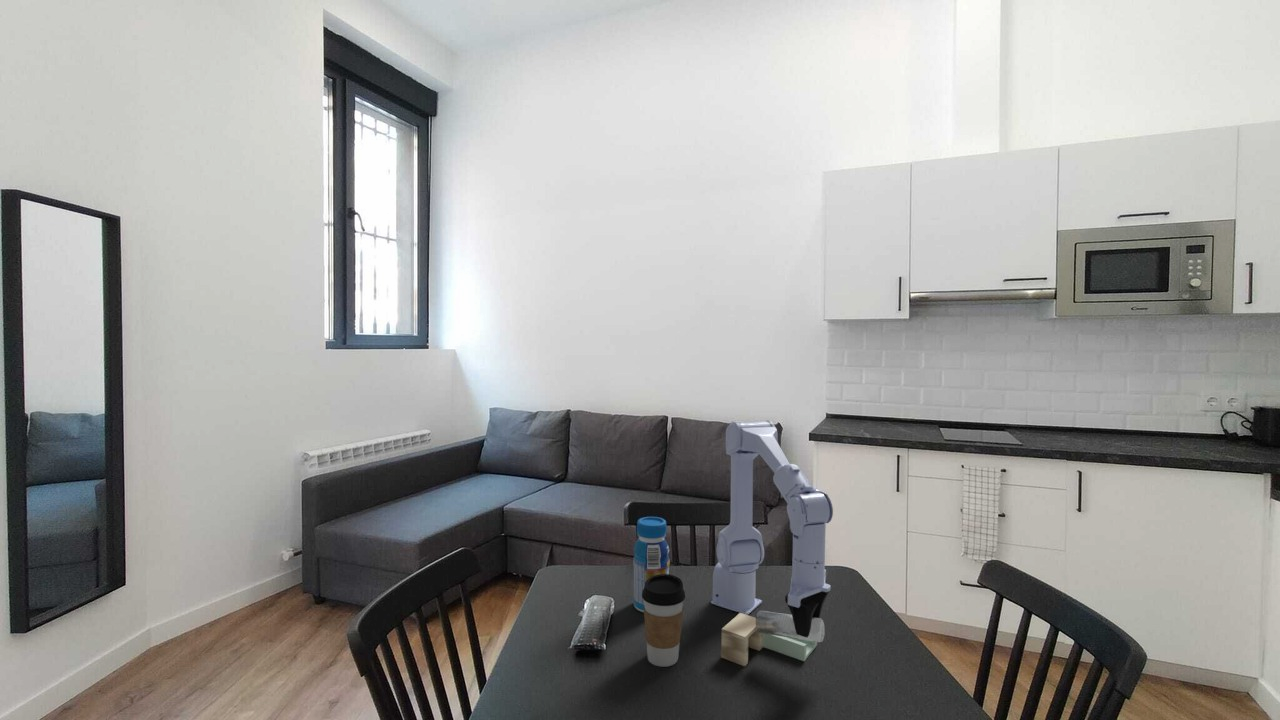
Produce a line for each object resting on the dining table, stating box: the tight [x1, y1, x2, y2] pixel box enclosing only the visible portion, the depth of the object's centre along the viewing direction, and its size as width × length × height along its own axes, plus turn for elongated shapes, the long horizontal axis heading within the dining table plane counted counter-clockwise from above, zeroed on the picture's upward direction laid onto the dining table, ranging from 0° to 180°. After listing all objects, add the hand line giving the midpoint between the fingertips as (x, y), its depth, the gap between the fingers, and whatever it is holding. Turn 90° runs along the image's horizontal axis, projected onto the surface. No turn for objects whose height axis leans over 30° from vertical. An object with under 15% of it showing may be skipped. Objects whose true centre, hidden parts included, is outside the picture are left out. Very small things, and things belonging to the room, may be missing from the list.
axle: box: [755, 610, 826, 643], centre depth 108 cm, size 12×4×4 cm, turn 53°
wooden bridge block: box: [720, 612, 763, 667], centre depth 113 cm, size 5×8×6 cm, turn 144°
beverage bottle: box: [632, 516, 671, 613], centre depth 132 cm, size 8×8×20 cm
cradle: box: [762, 634, 818, 662], centre depth 116 cm, size 9×7×3 cm
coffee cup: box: [642, 573, 686, 668], centre depth 111 cm, size 8×8×15 cm
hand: (806, 629), depth 106 cm, fingers closed on axle, 4 cm apart
